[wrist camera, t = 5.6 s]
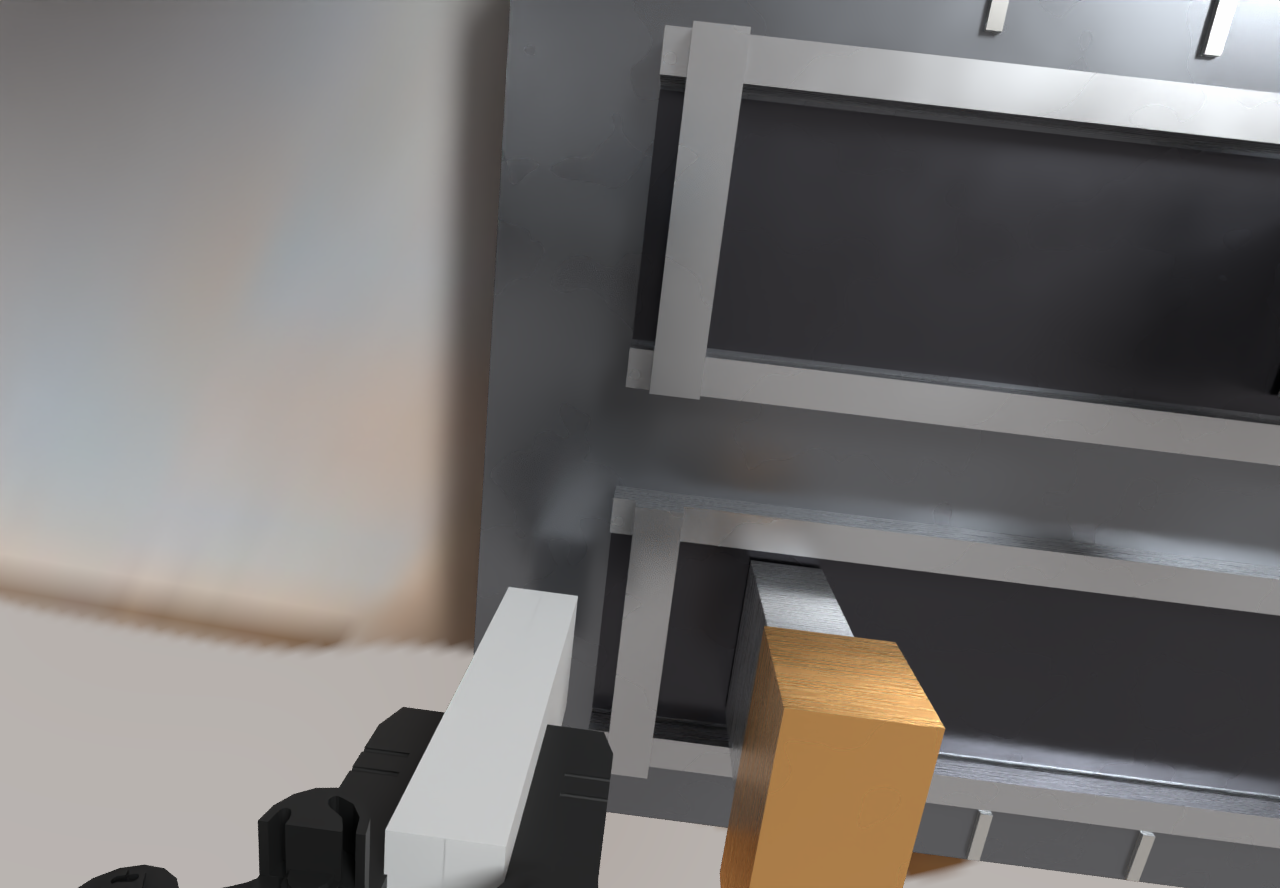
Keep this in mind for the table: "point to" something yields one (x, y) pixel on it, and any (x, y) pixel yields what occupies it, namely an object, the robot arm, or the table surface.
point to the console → (910, 394)
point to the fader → (821, 744)
